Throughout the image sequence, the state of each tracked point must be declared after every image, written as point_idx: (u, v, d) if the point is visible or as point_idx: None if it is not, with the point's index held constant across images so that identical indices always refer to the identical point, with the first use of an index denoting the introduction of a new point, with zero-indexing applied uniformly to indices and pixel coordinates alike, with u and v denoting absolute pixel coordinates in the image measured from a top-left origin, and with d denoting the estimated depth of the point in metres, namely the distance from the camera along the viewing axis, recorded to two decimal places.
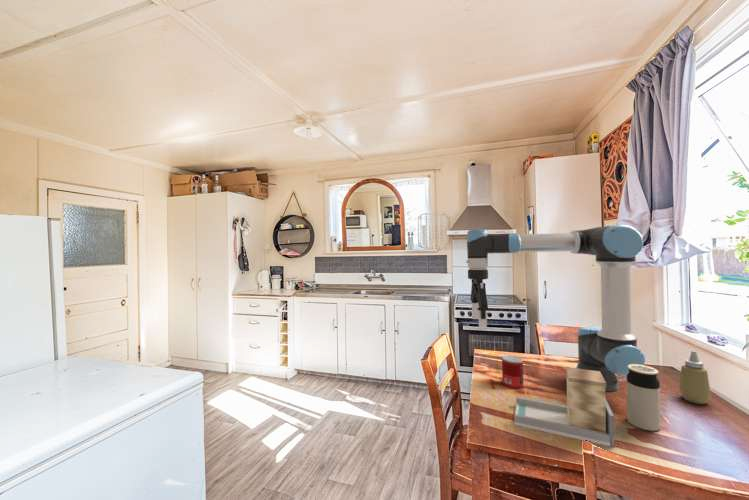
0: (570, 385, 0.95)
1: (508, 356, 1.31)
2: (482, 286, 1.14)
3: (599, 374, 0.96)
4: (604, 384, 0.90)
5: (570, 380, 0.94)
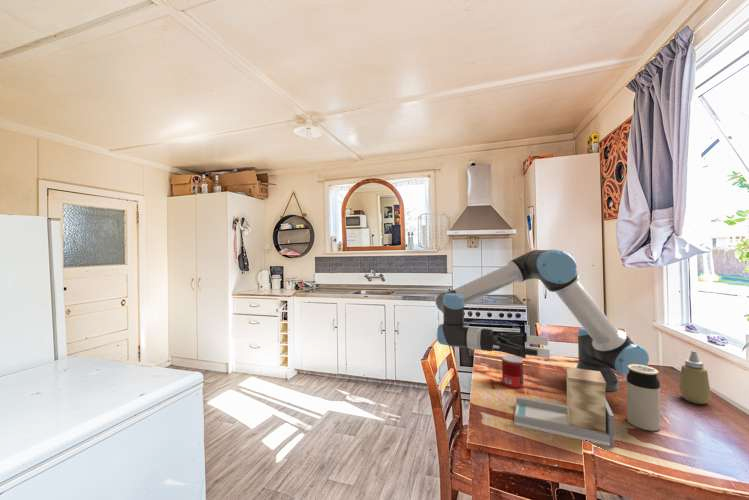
0: (570, 385, 0.95)
1: (508, 356, 1.31)
2: (496, 346, 1.02)
3: (599, 374, 0.96)
4: (604, 384, 0.90)
5: (570, 380, 0.94)
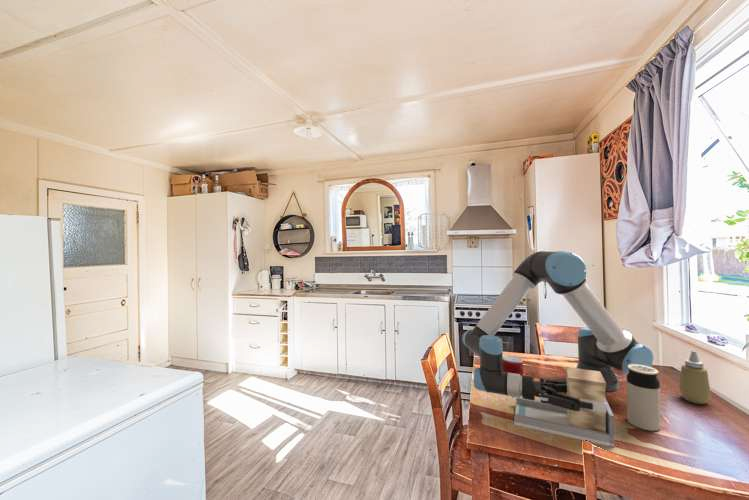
0: (570, 385, 0.95)
1: (508, 356, 1.31)
2: (545, 398, 0.96)
3: (599, 374, 0.96)
4: (604, 384, 0.90)
5: (570, 380, 0.94)
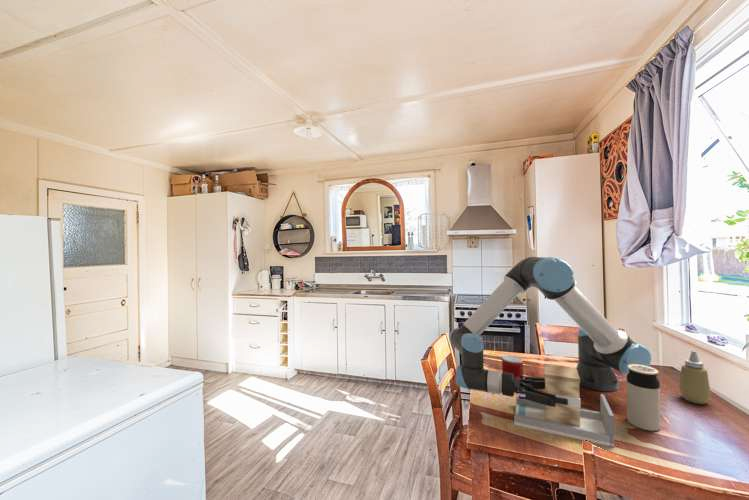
0: (546, 381, 0.97)
1: (508, 356, 1.31)
2: (523, 394, 0.98)
3: (575, 371, 0.99)
4: (578, 380, 0.93)
5: (546, 376, 0.97)
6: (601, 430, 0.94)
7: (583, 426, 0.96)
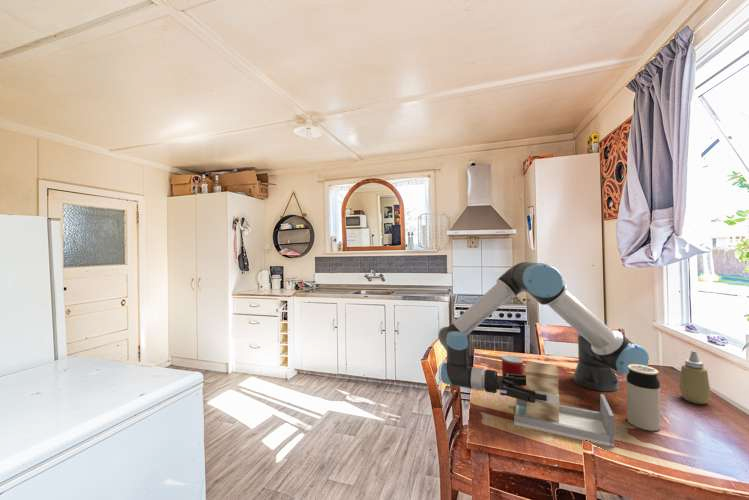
0: (527, 378, 1.00)
1: (508, 356, 1.31)
2: (504, 391, 1.01)
3: (555, 368, 1.02)
4: (557, 377, 0.96)
5: (527, 373, 1.00)
6: (601, 430, 0.94)
7: (583, 426, 0.96)
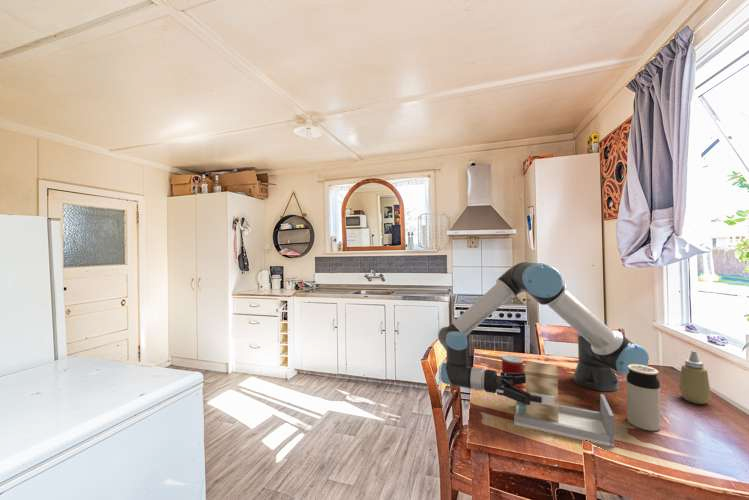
0: (526, 378, 1.00)
1: (508, 356, 1.31)
2: (500, 390, 1.02)
3: (554, 368, 1.02)
4: (556, 377, 0.96)
5: (526, 373, 1.00)
6: (601, 430, 0.94)
7: (583, 426, 0.96)
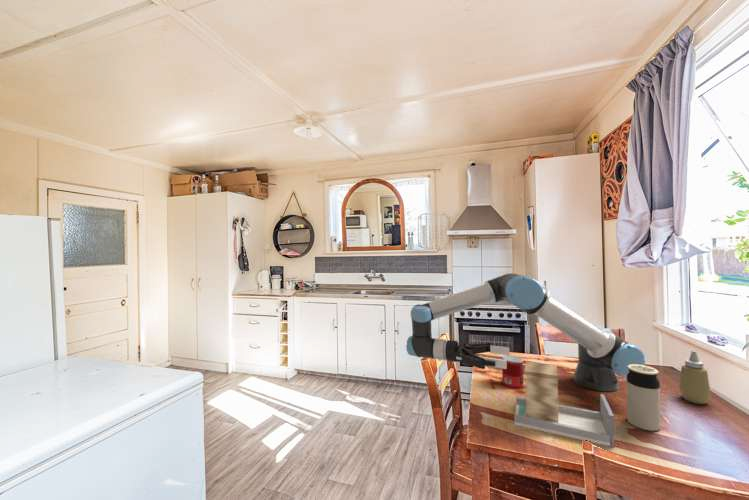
0: (526, 378, 1.00)
1: (508, 356, 1.31)
2: (459, 357, 1.07)
3: (554, 368, 1.02)
4: (556, 377, 0.96)
5: (526, 373, 1.00)
6: (601, 430, 0.94)
7: (583, 426, 0.96)
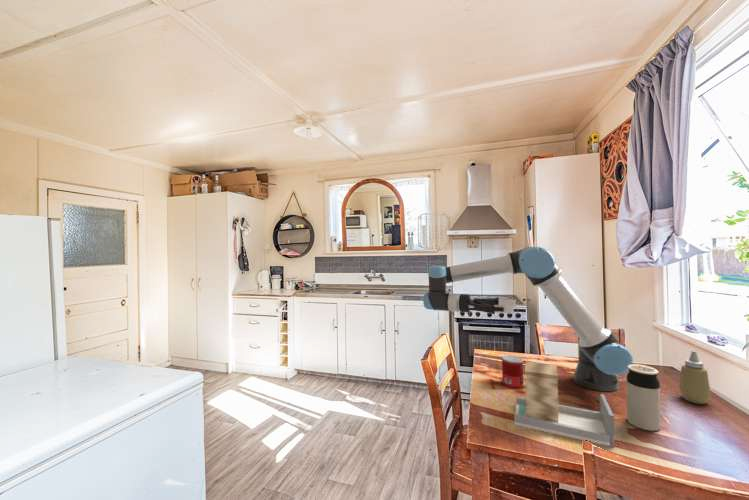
0: (526, 378, 1.00)
1: (508, 356, 1.31)
2: (471, 306, 1.22)
3: (554, 368, 1.02)
4: (556, 377, 0.96)
5: (526, 373, 1.00)
6: (601, 430, 0.94)
7: (583, 426, 0.96)
